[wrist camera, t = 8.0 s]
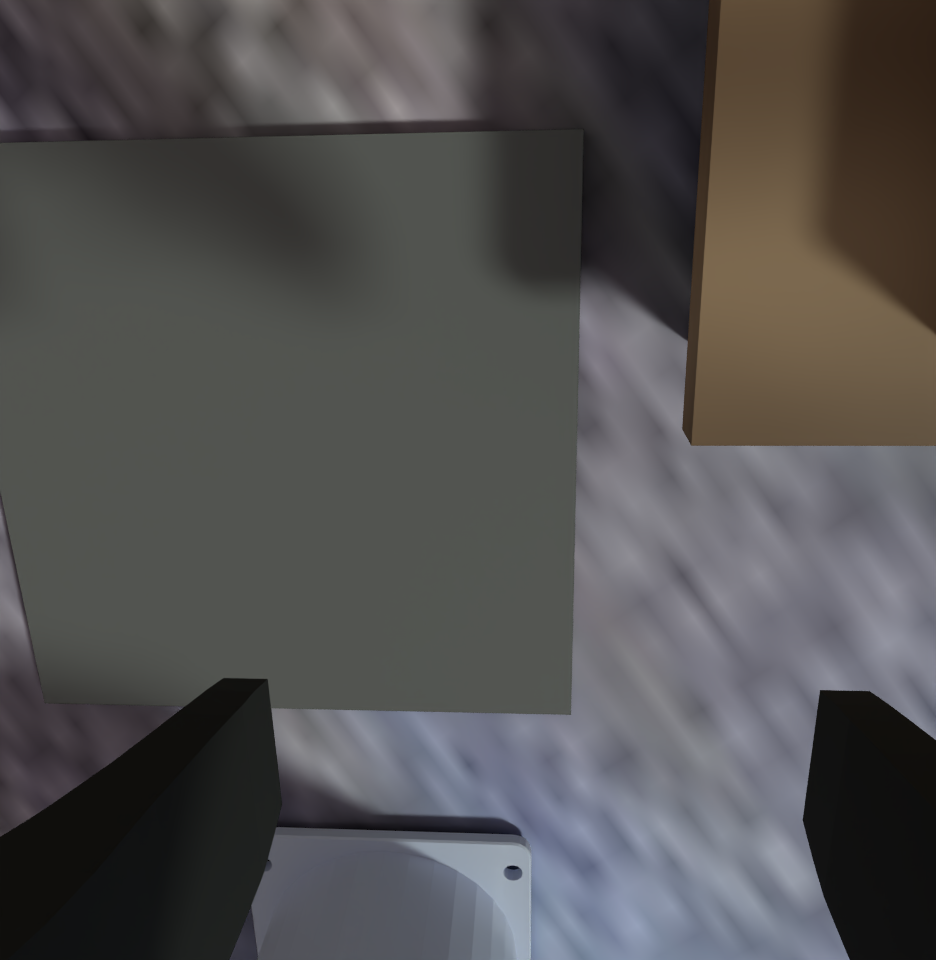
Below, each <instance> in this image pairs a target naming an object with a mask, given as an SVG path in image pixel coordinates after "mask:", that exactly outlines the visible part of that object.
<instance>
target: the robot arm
mask: <svg viewBox="0 0 936 960" xmlns="http://www.w3.org/2000/svg"><path fill="white" fill-rule="evenodd" d="M281 806H282V800H281V791H280V782H279V773H278V764H277V756H276V747H275V738H274V729H273V720H272V712H271V703H270V694H269V685H268V679H249V678H223V679H221V680H220V681H218V682H217V683H215V684H214V685H213V686H211V687H210V688H208V689H207V690H206V691H204V692H203V693H202V694H201V695H199V696H198V697H197V698H195V699H194V700H193V701H191V702H190V703H189V704H188V705H186V706H185V707H184V708H182V709H181V710H180V711H179V712H177V713H176V714H175V715H173V716H172V717H171V718H170V719H168V720H167V721H166V722H164V723H163V724H162V725H161V726H159V727H158V728H157V729H155V730H154V731H153V732H151V733H150V734H149V735H148V736H146V737H145V738H144V739H142V740H141V741H140V742H138V743H137V744H136V745H134V746H133V747H132V748H130V749H129V750H128V751H127V752H125V753H124V754H123V755H121V756H120V757H119V758H117V759H116V760H115V761H113V762H112V763H111V764H109V765H108V766H106V767H105V768H103V769H102V770H100V771H99V772H98V773H96V774H95V775H93V776H92V777H90V778H89V779H88V780H86V781H85V782H83V783H82V784H80V785H79V786H77V787H76V788H75V789H73V790H72V791H70V792H69V793H67V794H66V795H65V796H63V797H62V798H60V799H59V800H57V801H56V802H54V803H53V804H52V805H50V806H49V807H47V808H46V809H44V810H43V811H41V812H40V813H38V814H36V815H35V816H33V817H32V818H30V819H29V820H27V821H25V822H24V823H22V824H21V825H19V826H17V827H16V828H14V829H12V830H11V831H9V832H8V833H6V834H4V835H2V836H1V837H0V960H229V959H230V957H231V954H232V952H233V949H234V947H235V944H236V942H237V940H238V937H239V935H240V932H241V930H242V927H243V925H244V922H245V920H246V917H247V915H248V912H249V910H250V907H252V915H253V922H254V930H255V938H256V945H257V953H258V959H257V960H531V847H530V844H529V842H528V841H527V840H526V839H525V838H523V837H521V836H518V835H511V834H479V833H447V832H415V831H383V830H351V829H319V828H287V827H276V826H277V822H278V818H279V814H280V810H281ZM803 823H804V827H805V830H806V834H807V838H808V842H809V846H810V850H811V853H812V857H813V861H814V865H815V868H816V871H817V875H818V878H819V882H820V885H821V889H822V892H823V896H824V898H825V901H826V903H827V906H828V908H829V911H830V913H831V915H832V918H833V920H834V923H835V925H836V928H837V930H838V932H839V935H840V937H841V940H842V942H843V945H844V947H845V949H846V952H847V954H848V957H849V959H850V960H936V740H935V739H934V738H932V737H931V736H930V735H928V734H927V733H926V732H924V731H923V730H922V729H920V728H919V727H918V726H917V725H915V724H914V723H913V722H911V721H910V720H909V719H907V718H906V717H905V716H903V715H902V714H901V713H899V712H898V711H897V710H895V709H894V708H893V707H891V706H890V705H889V704H887V703H886V702H884V701H883V700H882V699H880V698H879V697H877V696H876V695H874V694H873V693H871V692H870V691H832V690H820V695H819V703H818V710H817V718H816V725H815V733H814V740H813V748H812V755H811V763H810V770H809V778H808V785H807V793H806V800H805V807H804V815H803ZM268 859H269V860H270V861H268V862H267V860H268ZM511 865H514V866H518V867H519V869H516V870H511V869H508V868H507V866H511Z"/></svg>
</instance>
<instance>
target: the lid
mask: <svg viewBox="0 0 936 960" xmlns="http://www.w3.org/2000/svg"><path fill="white" fill-rule="evenodd" d="M682 429H683V431H684V433H685V435H686V437H687V438H688V440H689V442H690V444H691V446H936V0H709V13H708V29H707V45H706V61H705V77H704V92H703V108H702V124H701V140H700V156H699V172H698V188H697V204H696V220H695V236H694V252H693V268H692V283H691V299H690V315H689V331H688V347H687V363H686V379H685V395H684V411H683V427H682Z"/></svg>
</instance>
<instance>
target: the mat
mask: <svg viewBox="0 0 936 960" xmlns="http://www.w3.org/2000/svg"><path fill="white" fill-rule="evenodd" d="M583 133H584V129H564V130H522V131H480V132H438V133H396V134H354V135H312V136H269V137H227V138H185V139H143V140H101V141H59V142H17V143H0V492H1V497H2V502H3V507H4V511H5V516H6V521H7V526H8V531H9V535H10V540H11V545H12V550H13V554H14V559H15V564H16V569H17V573H18V578H19V583H20V588H21V592H22V597H23V602H24V607H25V611H26V616H27V621H28V626H29V630H30V635H31V640H32V645H33V650H34V654H35V659H36V664H37V669H38V673H39V678H40V683H41V688H42V692H43V697H44V702H45V703H58V704H103V705H149V706H186V705H188V704H189V703H190V702H191V701H193V700H194V699H195V698H197V697H198V696H199V695H201V694H202V693H203V692H204V691H206V690H207V689H208V688H210V687H211V686H213V685H214V684H215V683H217V682H218V681H220V680H221V679H223V678H249V679H268V685H269V694H270V703H271V708H287V709H333V710H378V711H424V712H470V713H516V714H562V715H571V686H572V640H573V594H574V548H575V502H576V455H577V409H578V363H579V317H580V271H581V225H582V179H583Z"/></svg>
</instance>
